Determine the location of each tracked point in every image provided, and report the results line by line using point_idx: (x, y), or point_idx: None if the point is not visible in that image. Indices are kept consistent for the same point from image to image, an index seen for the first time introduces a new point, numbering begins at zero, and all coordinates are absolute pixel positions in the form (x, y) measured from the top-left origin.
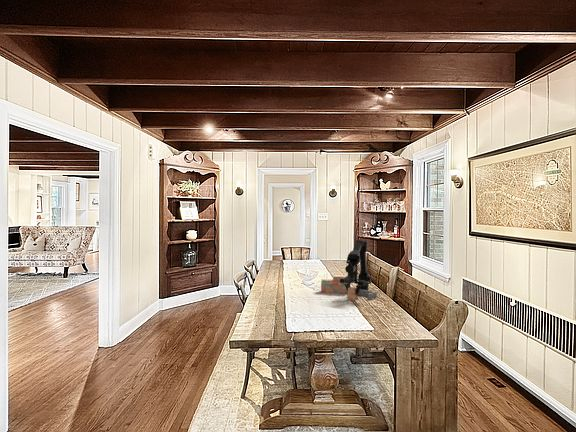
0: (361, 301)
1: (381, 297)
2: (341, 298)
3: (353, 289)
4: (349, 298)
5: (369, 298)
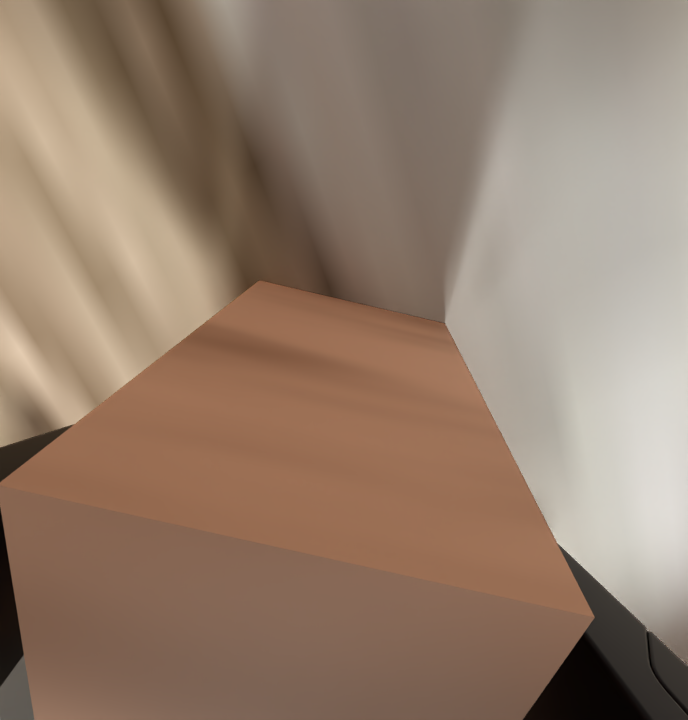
0: (66, 280)
1: None
2: (625, 370)
3: (100, 464)
4: (390, 322)
5: None
